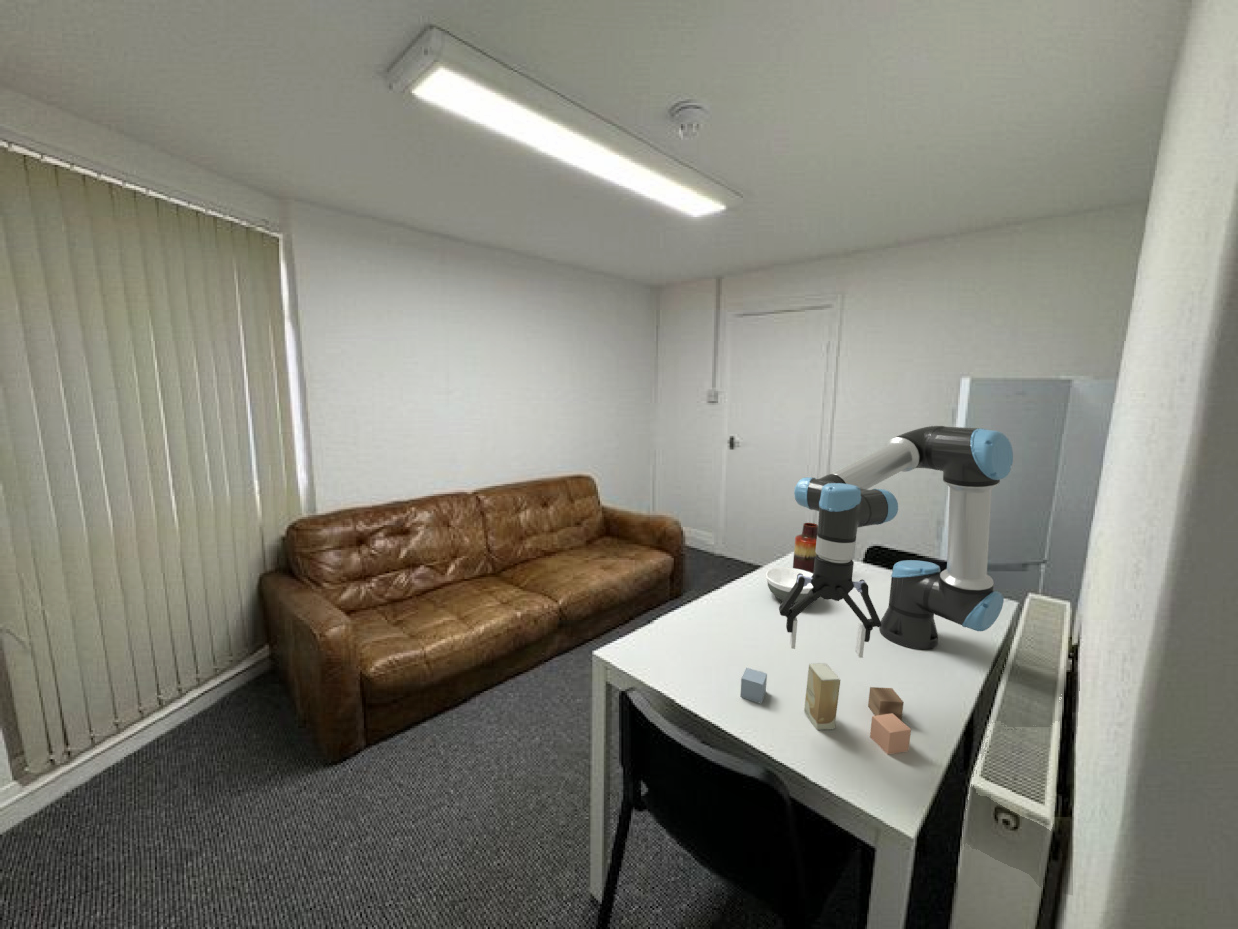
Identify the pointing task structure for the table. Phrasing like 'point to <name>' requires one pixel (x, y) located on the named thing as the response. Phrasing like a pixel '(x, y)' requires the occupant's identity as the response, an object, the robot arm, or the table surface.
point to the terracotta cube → (890, 733)
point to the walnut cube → (885, 702)
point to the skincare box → (822, 696)
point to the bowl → (786, 582)
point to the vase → (806, 548)
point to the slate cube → (753, 685)
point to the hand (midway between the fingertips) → (825, 650)
